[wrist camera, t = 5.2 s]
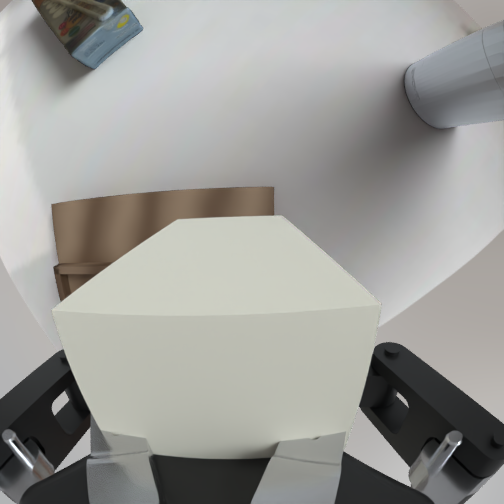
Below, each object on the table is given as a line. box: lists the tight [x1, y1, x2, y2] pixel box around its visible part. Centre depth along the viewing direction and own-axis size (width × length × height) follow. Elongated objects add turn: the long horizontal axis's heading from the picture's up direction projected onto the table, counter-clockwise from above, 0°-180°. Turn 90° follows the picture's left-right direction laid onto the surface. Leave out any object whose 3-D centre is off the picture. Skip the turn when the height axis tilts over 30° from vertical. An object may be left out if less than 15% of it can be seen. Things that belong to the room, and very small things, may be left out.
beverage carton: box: [32, 0, 143, 69], centre depth 17 cm, size 8×19×7 cm, turn 37°
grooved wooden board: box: [51, 187, 274, 302], centre depth 27 cm, size 24×16×4 cm
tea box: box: [51, 215, 382, 459], centre depth 10 cm, size 5×9×10 cm, turn 1°
